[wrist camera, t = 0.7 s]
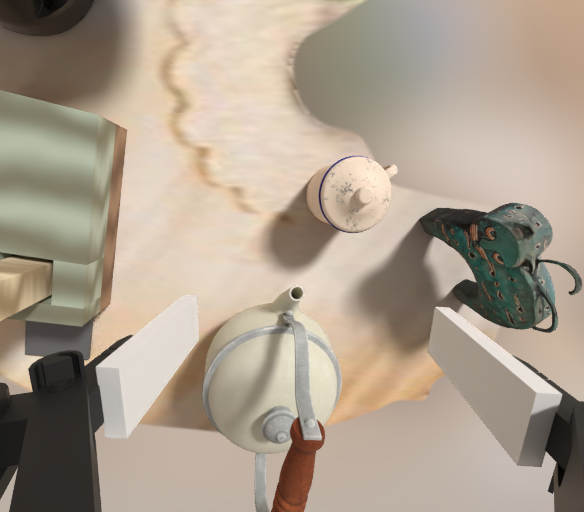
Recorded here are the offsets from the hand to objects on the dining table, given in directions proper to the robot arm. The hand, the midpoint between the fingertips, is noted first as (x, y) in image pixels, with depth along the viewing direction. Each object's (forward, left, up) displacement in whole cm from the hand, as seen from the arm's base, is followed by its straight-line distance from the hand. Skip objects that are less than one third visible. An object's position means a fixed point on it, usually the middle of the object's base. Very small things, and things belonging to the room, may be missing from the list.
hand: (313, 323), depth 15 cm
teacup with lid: (-10, +9, -27) cm, 30 cm away
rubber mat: (+18, -27, -27) cm, 42 cm away
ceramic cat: (-4, +30, -27) cm, 41 cm away
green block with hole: (+1, -27, -27) cm, 38 cm away
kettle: (+15, +3, -27) cm, 31 cm away
